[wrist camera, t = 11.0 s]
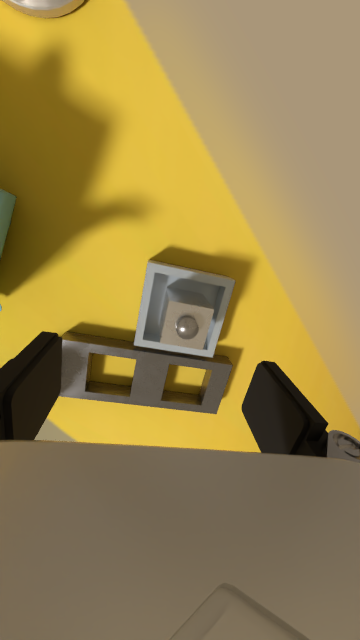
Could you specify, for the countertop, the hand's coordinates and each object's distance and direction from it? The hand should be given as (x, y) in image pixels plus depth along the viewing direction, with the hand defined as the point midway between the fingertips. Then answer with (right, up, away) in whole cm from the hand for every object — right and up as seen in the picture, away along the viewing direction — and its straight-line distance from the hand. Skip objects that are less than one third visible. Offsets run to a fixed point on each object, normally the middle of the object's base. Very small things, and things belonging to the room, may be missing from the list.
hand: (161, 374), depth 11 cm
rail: (-4, -5, +25) cm, 26 cm away
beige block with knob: (+1, +4, +21) cm, 21 cm away
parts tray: (+1, +4, +22) cm, 22 cm away
